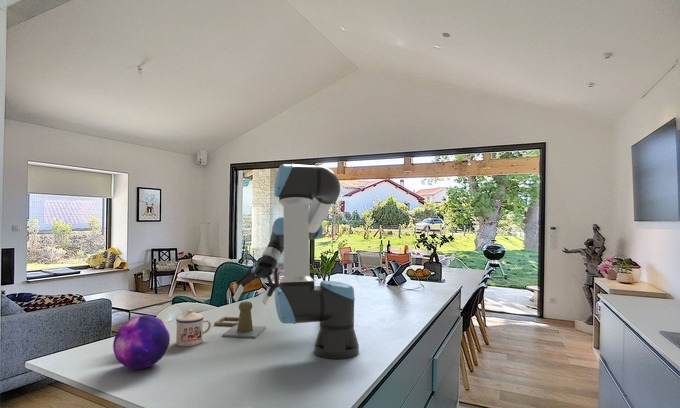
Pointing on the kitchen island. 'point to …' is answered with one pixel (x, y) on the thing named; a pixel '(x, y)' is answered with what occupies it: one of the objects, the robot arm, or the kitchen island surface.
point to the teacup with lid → (190, 328)
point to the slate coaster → (253, 334)
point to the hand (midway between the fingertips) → (249, 301)
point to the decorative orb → (141, 342)
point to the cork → (245, 317)
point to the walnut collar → (221, 323)
